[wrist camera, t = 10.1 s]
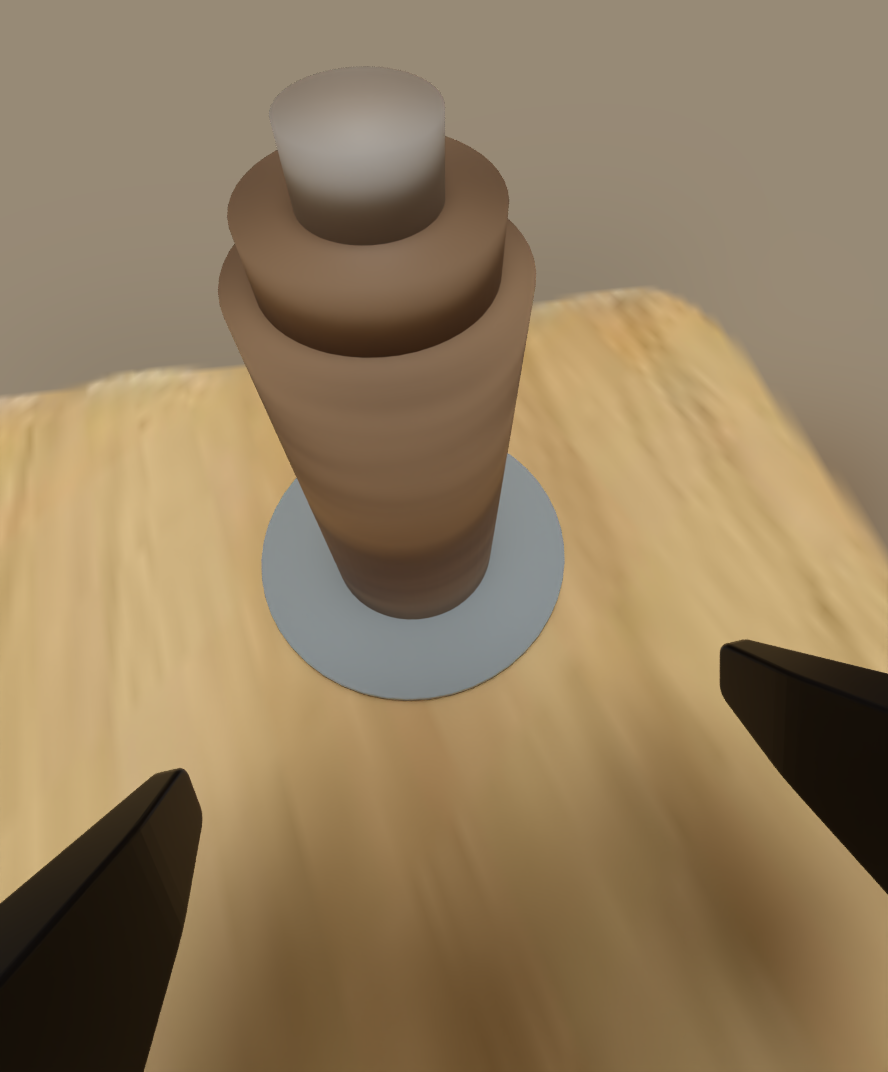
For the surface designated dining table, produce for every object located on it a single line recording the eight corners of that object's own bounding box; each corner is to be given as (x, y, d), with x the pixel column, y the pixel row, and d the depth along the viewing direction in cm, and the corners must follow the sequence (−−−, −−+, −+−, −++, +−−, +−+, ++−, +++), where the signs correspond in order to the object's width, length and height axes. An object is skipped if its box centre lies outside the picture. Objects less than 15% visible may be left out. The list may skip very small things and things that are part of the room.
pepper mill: (508, 601, 18) (626, 195, 6) (347, 634, 17) (133, 262, 6) (470, 470, 21) (501, 5, 9) (328, 496, 20) (155, 40, 8)
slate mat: (530, 743, 16) (531, 741, 16) (211, 649, 18) (206, 646, 17) (583, 463, 21) (585, 458, 21) (330, 408, 23) (328, 402, 22)
